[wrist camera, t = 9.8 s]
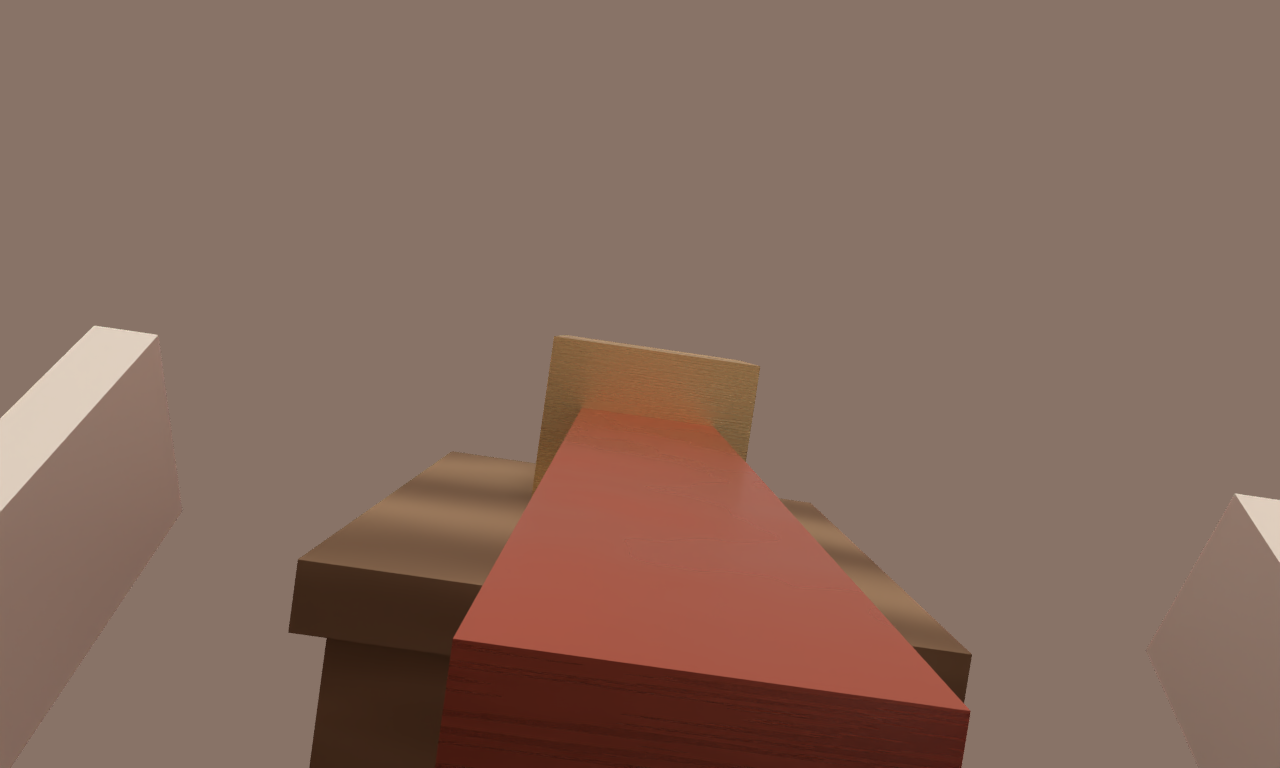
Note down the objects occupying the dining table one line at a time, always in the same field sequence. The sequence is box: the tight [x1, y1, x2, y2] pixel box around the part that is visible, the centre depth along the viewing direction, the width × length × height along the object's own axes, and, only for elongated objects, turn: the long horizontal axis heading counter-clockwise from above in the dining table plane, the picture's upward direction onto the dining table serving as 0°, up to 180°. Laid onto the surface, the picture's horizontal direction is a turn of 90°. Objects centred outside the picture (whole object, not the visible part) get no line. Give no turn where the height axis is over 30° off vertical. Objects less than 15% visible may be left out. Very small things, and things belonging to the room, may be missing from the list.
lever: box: [435, 335, 970, 768], centre depth 18 cm, size 24×5×4 cm, turn 0°
